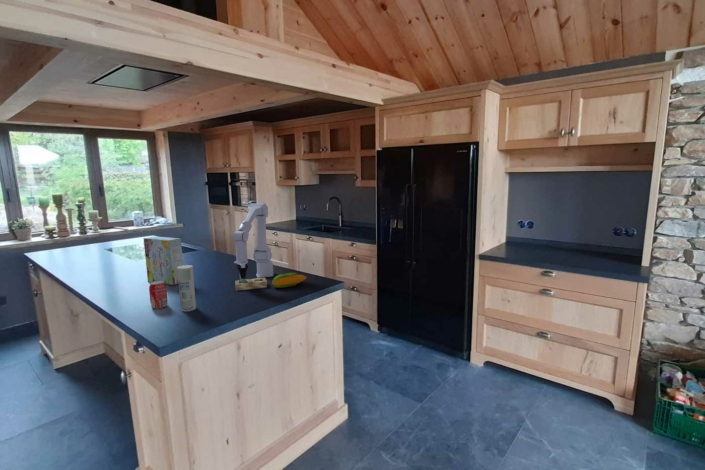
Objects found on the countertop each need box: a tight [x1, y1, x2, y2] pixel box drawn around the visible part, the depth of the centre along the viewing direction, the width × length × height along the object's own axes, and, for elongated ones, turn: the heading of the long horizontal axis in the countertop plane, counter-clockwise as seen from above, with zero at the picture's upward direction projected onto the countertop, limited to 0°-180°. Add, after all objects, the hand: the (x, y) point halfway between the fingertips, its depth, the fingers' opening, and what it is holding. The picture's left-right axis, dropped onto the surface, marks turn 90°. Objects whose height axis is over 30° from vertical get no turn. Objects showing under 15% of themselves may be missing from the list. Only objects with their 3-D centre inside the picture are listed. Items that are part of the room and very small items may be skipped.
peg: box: [239, 275, 247, 283], centre depth 200 cm, size 3×3×9 cm
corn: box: [271, 272, 307, 289], centre depth 204 cm, size 7×8×20 cm
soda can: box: [148, 280, 168, 310], centre depth 174 cm, size 7×7×12 cm
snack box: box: [143, 236, 184, 286], centre depth 212 cm, size 22×9×26 cm, turn 65°
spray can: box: [177, 264, 197, 312], centre depth 170 cm, size 6×6×20 cm
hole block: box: [234, 277, 268, 291], centre depth 203 cm, size 16×8×4 cm, turn 110°
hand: (243, 277), depth 201 cm, fingers closed on peg, 3 cm apart
